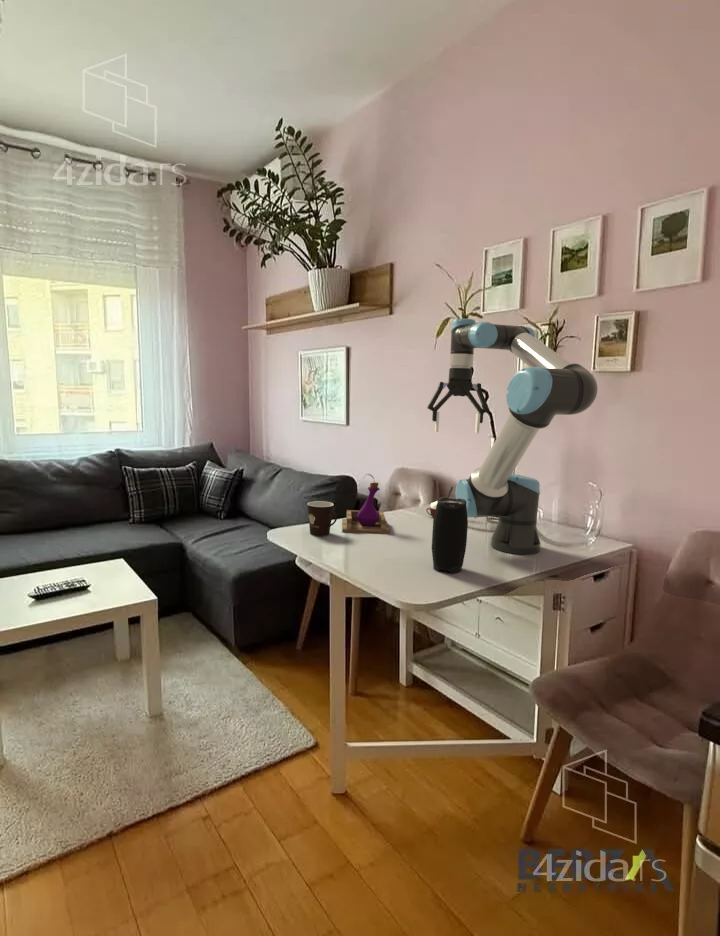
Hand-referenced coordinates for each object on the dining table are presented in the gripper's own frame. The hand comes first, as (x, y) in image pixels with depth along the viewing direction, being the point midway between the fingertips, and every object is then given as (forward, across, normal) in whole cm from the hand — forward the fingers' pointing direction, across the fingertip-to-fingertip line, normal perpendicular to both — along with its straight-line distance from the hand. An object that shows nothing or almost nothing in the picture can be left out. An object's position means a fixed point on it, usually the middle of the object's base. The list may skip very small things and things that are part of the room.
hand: (456, 432), depth 188 cm
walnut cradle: (+35, +29, -4) cm, 45 cm away
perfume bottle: (+34, +28, -4) cm, 44 cm away
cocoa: (+35, 0, -23) cm, 42 cm away
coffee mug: (+35, +44, +7) cm, 57 cm away
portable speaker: (+35, +8, +38) cm, 52 cm away
